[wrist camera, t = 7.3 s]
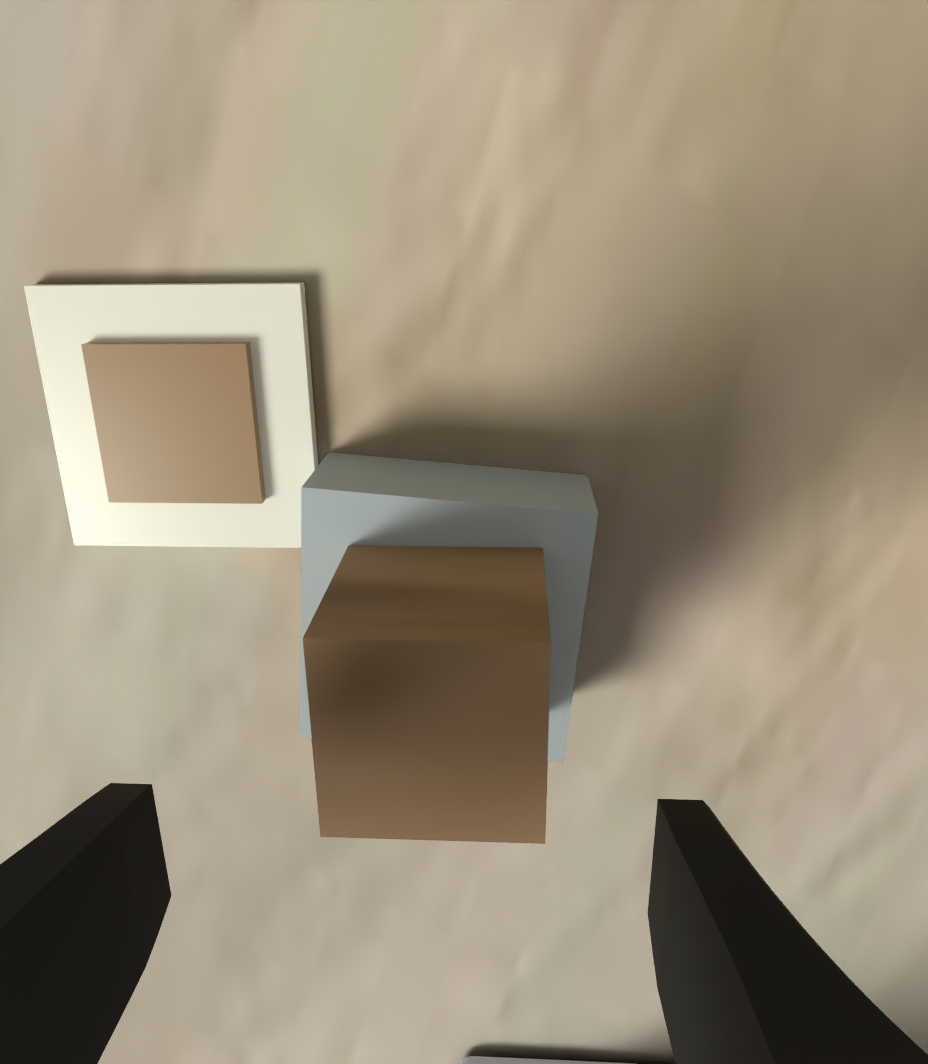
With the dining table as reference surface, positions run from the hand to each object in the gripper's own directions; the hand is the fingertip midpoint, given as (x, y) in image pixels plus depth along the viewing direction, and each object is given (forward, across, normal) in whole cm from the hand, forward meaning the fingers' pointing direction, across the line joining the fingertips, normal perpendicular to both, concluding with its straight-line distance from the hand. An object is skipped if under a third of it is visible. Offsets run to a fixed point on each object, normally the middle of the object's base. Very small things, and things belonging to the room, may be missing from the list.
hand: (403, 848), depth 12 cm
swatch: (+9, +6, -4) cm, 12 cm away
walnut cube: (+6, 0, 0) cm, 6 cm away
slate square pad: (+9, 0, 0) cm, 9 cm away
